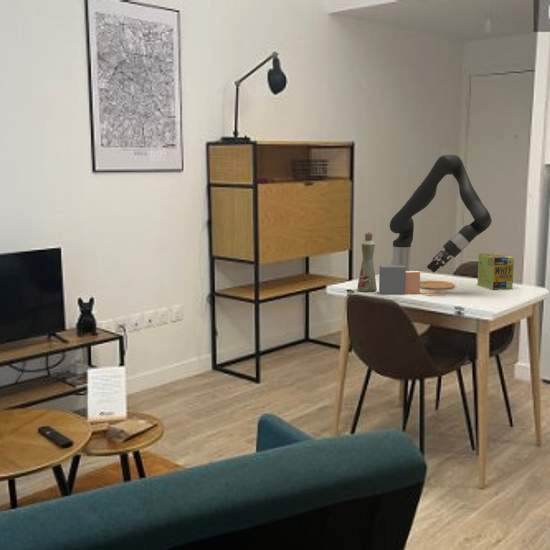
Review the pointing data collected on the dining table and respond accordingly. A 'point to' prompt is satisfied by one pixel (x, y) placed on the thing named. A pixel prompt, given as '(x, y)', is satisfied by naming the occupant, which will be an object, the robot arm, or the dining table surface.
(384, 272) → the block
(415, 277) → the book
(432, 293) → the mat
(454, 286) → the dining table surface
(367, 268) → the bottle
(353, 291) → the dining table surface
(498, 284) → the protein box
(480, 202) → the robot arm
